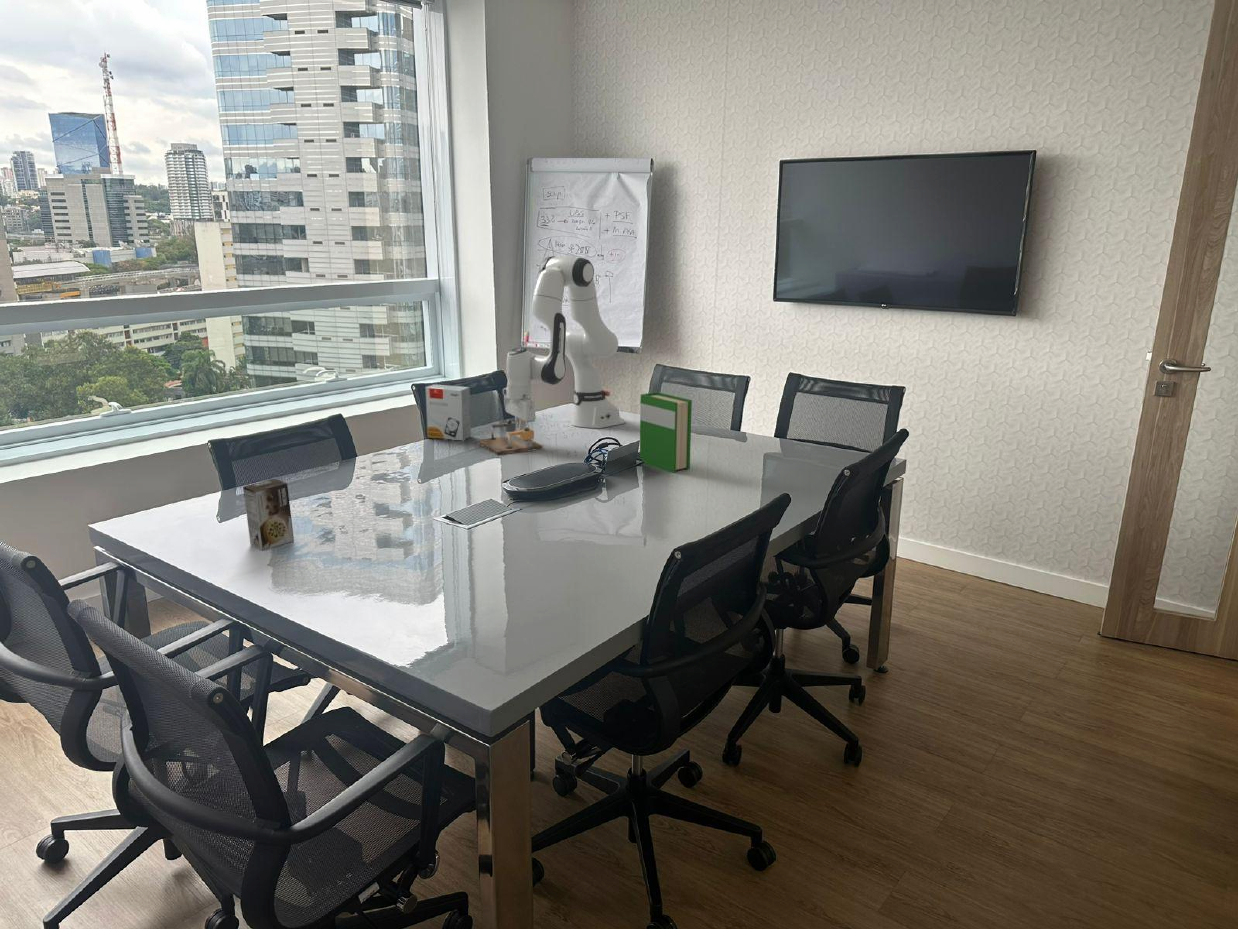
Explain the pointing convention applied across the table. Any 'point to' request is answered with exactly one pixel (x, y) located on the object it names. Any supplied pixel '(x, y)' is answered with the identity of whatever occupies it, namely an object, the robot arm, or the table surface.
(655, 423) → the hardback book
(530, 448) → the hole board
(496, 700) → the table surface
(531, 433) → the sliding head
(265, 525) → the cookie box
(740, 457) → the table surface
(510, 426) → the trammel beam
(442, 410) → the hard drive box
